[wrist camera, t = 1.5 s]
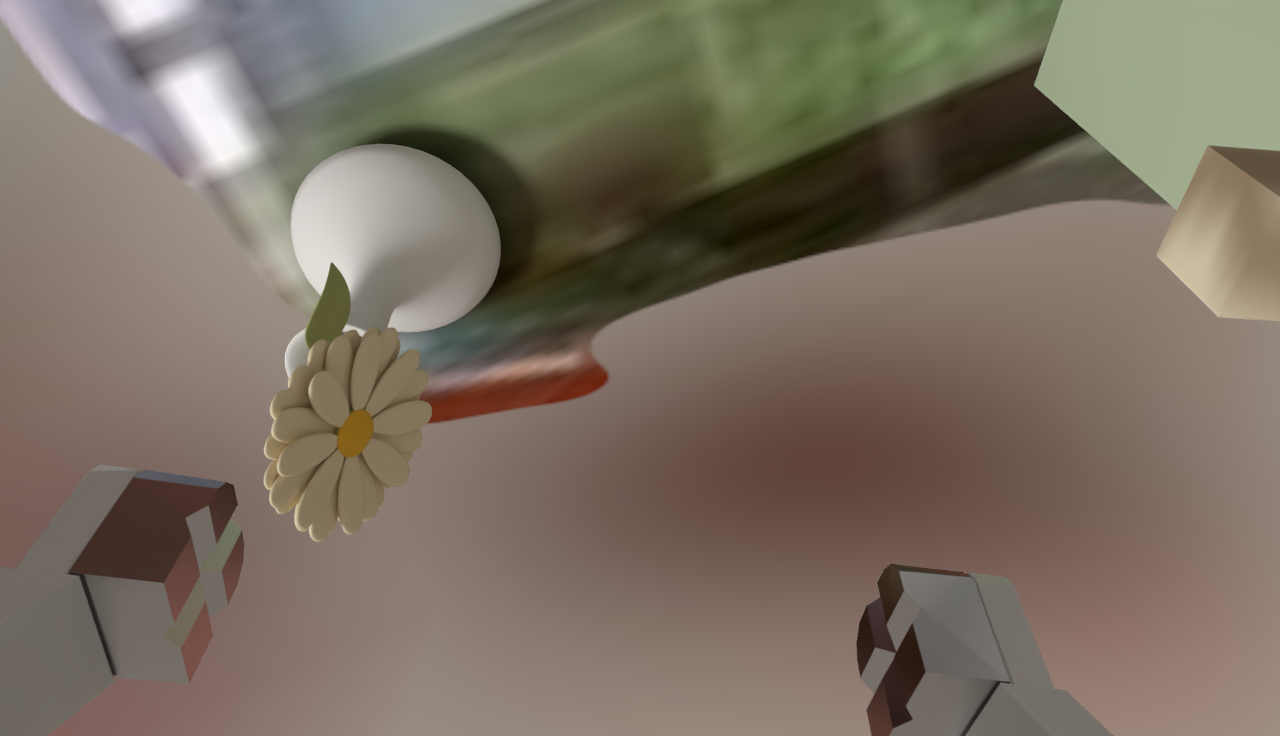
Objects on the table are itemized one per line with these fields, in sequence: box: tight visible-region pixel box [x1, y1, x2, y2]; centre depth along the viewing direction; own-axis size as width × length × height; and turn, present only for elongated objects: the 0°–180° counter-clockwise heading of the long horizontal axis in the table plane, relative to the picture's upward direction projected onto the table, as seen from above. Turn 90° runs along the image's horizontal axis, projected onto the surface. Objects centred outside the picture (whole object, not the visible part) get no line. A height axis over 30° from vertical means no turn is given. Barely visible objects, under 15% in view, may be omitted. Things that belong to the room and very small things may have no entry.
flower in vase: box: [264, 144, 501, 542], centre depth 41 cm, size 13×11×25 cm
